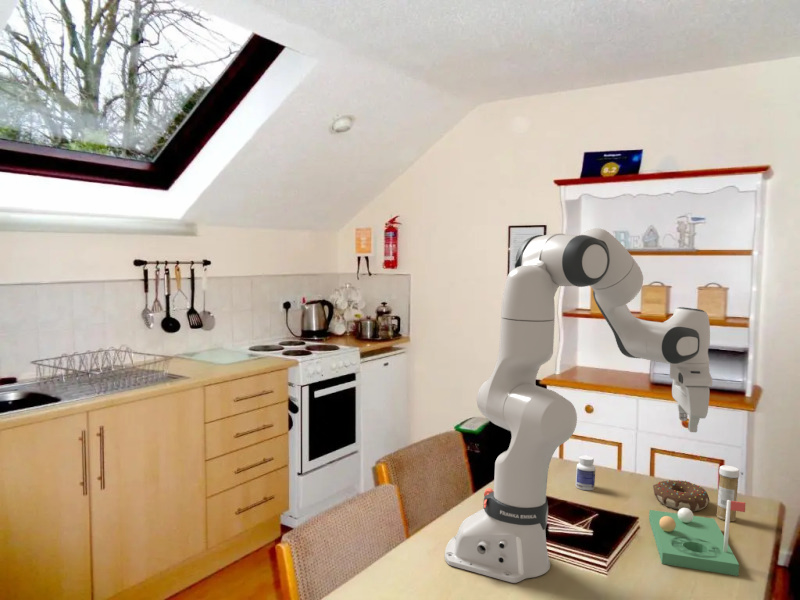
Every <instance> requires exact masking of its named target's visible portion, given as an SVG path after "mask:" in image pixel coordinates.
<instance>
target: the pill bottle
mask: <svg viewBox="0 0 800 600" xmlns="http://www.w3.org/2000/svg"><path fill="white" fill-rule="evenodd" d="M578 460H579V461H578V463H577V464H576V469H575V471H576V472H575V487H576V488H577V489H579V490H582V491H593V490H595V484H596V483H595V482H596V466H595V465H594V457H593V456H590V455H586V454H585V455H579V458H578Z"/></svg>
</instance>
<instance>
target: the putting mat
mask: <svg viewBox="0 0 800 600" xmlns="http://www.w3.org/2000/svg"><path fill="white" fill-rule="evenodd" d="M730 510H733V511H736V512H742V513H745V512H746V502H742V501H737V502H736V501H730V500H727V507H726V520H724V524H725V525H724V534H723V532H722V530H721V528H720V527H719V525H718V523H717V521H716V520H715V518H713V517H711V518H710V517H705V516H696V515H693V520H692V521H691V522H689V523H684V522H682V521H681V520H680V519H679V518H678V512H676V513H675V512H669V511H662V510H654V509H649V514H648V515H649V516H648V521H649V524H650V527H651V531H652V534H653V537H654V540H655V544H656V548H657V551H658V555H659V559H660V561H661V564H662V565H667V566H674V567H680V568H687V569H693V570H699V571H704V572H705V571H706V572H710V573H711V572H712V573H718V574H723V575H728V576H729V575H730V576H737V577H739V571H740V564H739V561H738V560H737V558H736V556H735V554H734V553H733V551H732V549H731V547H730V545H729V536H730V535H729V534H730V533H729V531H730V522H731V521H730ZM664 516H669V517H671V518H673V519H674V521H675V523H676V527H675V529H674V530H673V531H671V532H666V531H664V530H663V529H662V528H661V527H660V524H659V522H660V519H661V518H662V517H664Z"/></svg>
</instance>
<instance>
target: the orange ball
mask: <svg viewBox="0 0 800 600" xmlns="http://www.w3.org/2000/svg"><path fill="white" fill-rule="evenodd" d="M659 524H660V527H661V528H662V529H663V530H664V531H666V532H671V531H673V530H674V529H675V527H676V523H675V521H674V519H673V518H671V517H669V516H664V517H662V518H661V519H660V522H659Z"/></svg>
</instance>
